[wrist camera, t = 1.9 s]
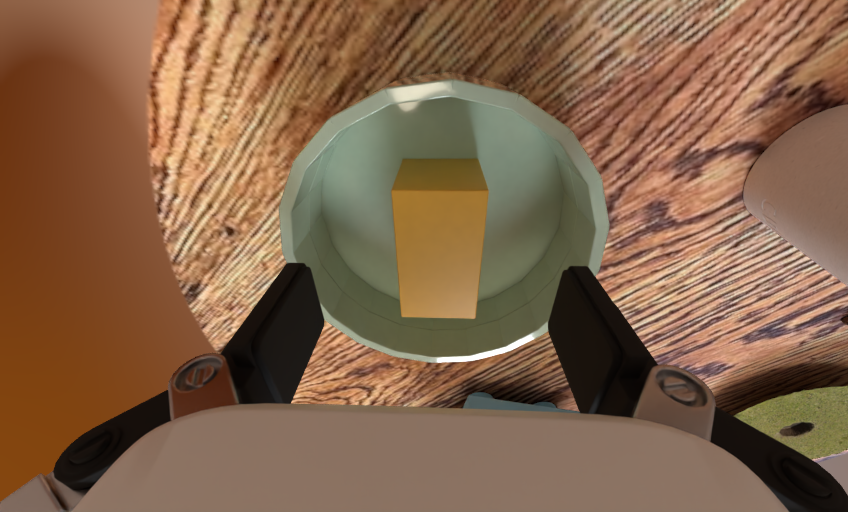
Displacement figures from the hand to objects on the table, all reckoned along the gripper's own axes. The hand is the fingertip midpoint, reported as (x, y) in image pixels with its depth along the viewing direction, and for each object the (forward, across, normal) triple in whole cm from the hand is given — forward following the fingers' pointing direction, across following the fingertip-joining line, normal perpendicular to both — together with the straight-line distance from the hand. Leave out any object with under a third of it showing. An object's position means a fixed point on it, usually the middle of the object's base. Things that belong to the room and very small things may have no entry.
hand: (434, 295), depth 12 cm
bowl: (+6, 0, 0) cm, 6 cm away
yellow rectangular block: (+6, 0, 0) cm, 6 cm away
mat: (+7, -27, +17) cm, 33 cm away
